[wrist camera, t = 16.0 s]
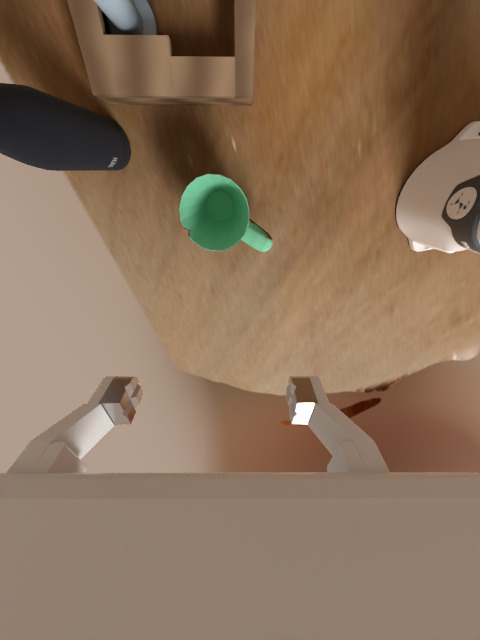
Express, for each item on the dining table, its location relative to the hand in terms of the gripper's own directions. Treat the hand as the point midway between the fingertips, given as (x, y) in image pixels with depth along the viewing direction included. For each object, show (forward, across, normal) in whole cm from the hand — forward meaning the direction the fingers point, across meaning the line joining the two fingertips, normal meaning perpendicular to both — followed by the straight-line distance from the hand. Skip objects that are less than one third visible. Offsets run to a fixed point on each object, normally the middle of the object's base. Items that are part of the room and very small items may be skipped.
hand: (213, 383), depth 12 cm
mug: (+35, 0, -3) cm, 35 cm away
